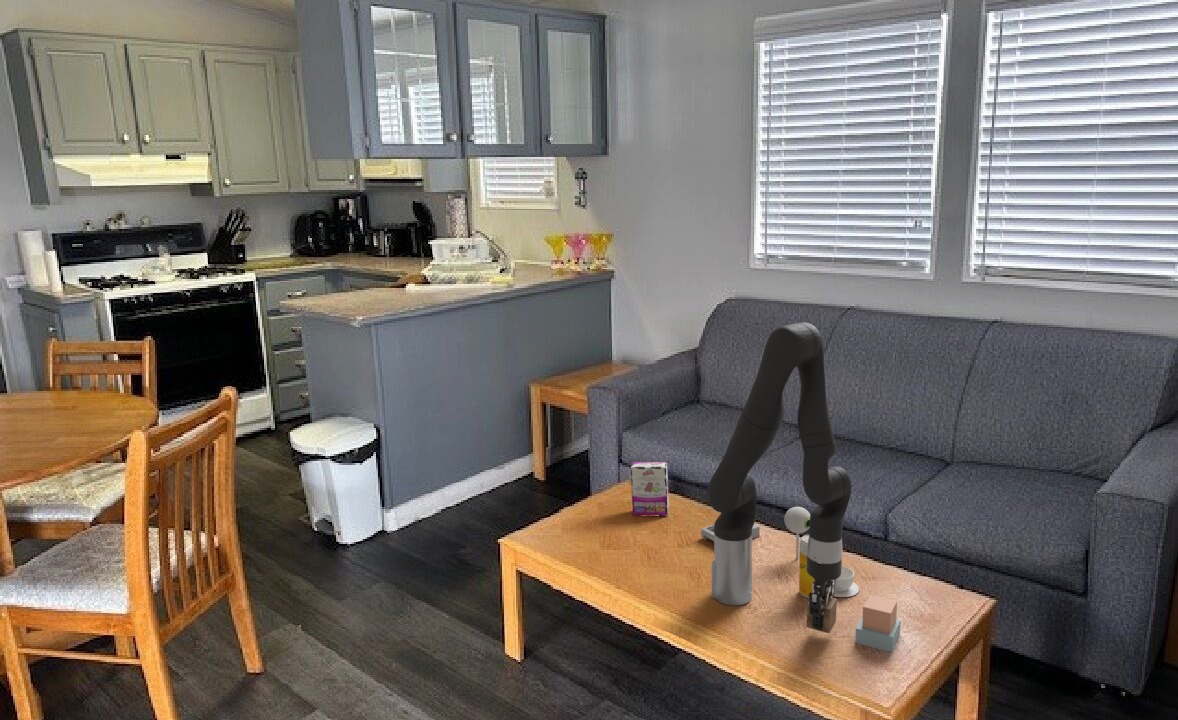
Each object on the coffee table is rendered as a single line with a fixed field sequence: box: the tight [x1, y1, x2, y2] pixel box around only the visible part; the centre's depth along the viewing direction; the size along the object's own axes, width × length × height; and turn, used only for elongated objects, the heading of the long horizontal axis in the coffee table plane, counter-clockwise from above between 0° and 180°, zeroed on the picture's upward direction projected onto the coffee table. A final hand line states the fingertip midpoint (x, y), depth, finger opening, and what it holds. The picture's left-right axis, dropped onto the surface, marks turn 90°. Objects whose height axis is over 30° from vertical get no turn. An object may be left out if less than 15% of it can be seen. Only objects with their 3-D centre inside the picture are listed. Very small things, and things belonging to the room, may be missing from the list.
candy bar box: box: [630, 461, 670, 517], centre depth 259 cm, size 11×5×16 cm, turn 81°
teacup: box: [833, 565, 860, 598], centre depth 210 cm, size 10×10×5 cm
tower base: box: [855, 615, 902, 653], centre depth 187 cm, size 8×8×4 cm
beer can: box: [798, 534, 815, 600], centre depth 206 cm, size 6×6×15 cm
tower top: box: [862, 594, 898, 634], centre depth 186 cm, size 6×6×5 cm
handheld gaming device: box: [700, 523, 761, 542], centre depth 241 cm, size 9×15×4 cm, turn 121°
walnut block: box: [806, 596, 838, 634], centre depth 188 cm, size 5×5×6 cm
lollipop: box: [783, 506, 811, 560], centre depth 225 cm, size 7×7×15 cm
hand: (821, 621), depth 188 cm, fingers closed on walnut block, 5 cm apart
